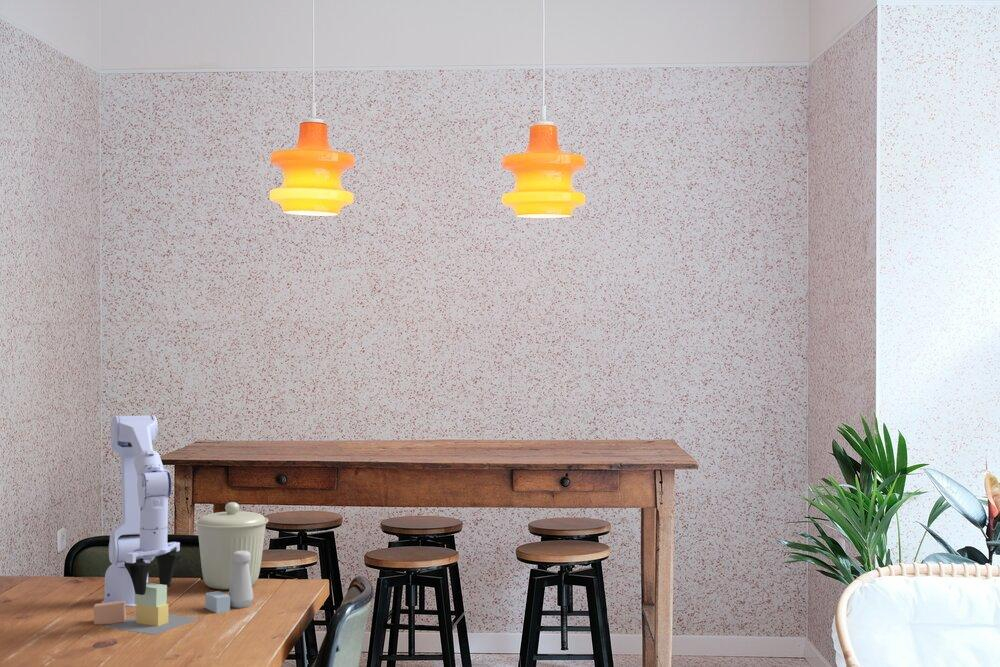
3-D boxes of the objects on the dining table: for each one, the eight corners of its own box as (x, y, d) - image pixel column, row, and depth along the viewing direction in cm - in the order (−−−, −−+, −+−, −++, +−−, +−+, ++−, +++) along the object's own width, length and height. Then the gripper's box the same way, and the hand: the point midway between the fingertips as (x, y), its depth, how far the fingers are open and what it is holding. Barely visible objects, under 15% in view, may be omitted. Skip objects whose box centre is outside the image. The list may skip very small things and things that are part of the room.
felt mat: (103, 629, 212) (103, 626, 212) (149, 613, 225) (149, 611, 225) (154, 637, 206) (154, 634, 206) (199, 620, 219) (199, 618, 219)
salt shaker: (246, 611, 227) (247, 554, 228) (223, 610, 228) (224, 553, 229) (257, 605, 233) (258, 549, 233) (234, 603, 234) (235, 548, 234)
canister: (228, 597, 240) (230, 510, 241) (178, 587, 250) (179, 503, 250) (282, 583, 255) (283, 501, 256) (232, 574, 265) (234, 495, 265)
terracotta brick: (94, 625, 214) (93, 606, 214) (96, 622, 217) (95, 603, 217) (124, 621, 215) (123, 603, 216) (126, 618, 218) (124, 600, 219)
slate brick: (205, 610, 228) (205, 593, 228) (218, 608, 230) (218, 591, 231) (216, 615, 224) (216, 598, 224) (229, 613, 226) (230, 595, 226)
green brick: (134, 604, 215) (134, 585, 215) (145, 600, 218) (145, 582, 218) (156, 607, 213) (156, 588, 213) (166, 603, 216) (167, 585, 216)
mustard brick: (136, 622, 215) (136, 604, 215) (146, 619, 218) (147, 600, 218) (157, 626, 213) (158, 607, 213) (168, 622, 216) (168, 603, 216)
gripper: (144, 534, 208) (143, 599, 207) (191, 523, 221) (190, 585, 221) (118, 531, 210) (117, 596, 210) (166, 521, 224) (165, 581, 223)
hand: (152, 590), depth 216 cm, fingers open, 7 cm apart
